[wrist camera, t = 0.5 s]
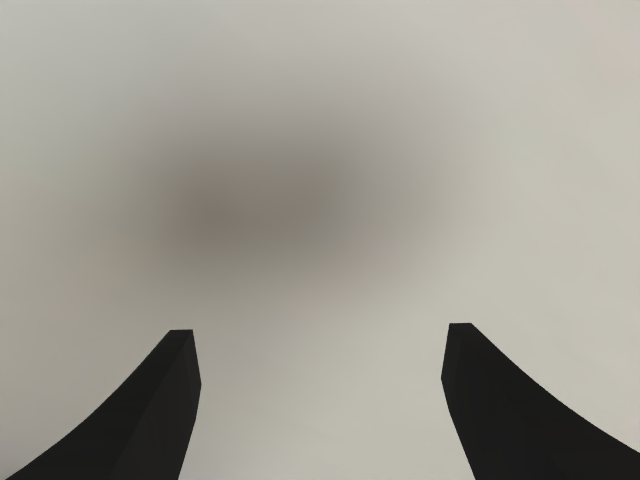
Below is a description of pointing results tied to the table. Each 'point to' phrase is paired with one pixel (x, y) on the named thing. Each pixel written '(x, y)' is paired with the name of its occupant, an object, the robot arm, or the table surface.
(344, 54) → the table surface
